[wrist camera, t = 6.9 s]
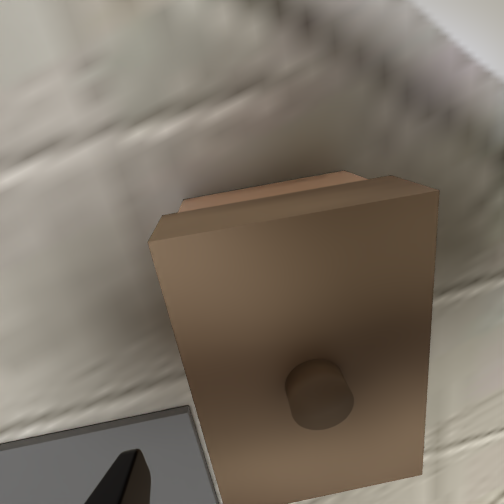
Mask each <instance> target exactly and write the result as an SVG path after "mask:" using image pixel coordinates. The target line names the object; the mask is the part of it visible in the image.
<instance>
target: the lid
mask: <svg viewBox="0 0 504 504" xmlns="http://www.w3.org/2000/svg"><path fill="white" fill-rule="evenodd" d="M438 206H439V190H437V189H434V188H431V187H427V186H424V185H421V184H418V183H414V182H411V181H408V180H405V179H401V178H398V177H395V176H392V175H390V176H384V177H378V178H373V179H367V180H361V181H356V182H350V183H344V184H338V185H333V186H327V187H321V188H316V189H310V190H304V191H298V192H293V193H287V194H281V195H276V196H270V197H264V198H259V199H253V200H247V201H241V202H236V203H230V204H224V205H219V206H213V207H207V208H201V209H196V210H190V211H184V212H179V213H173V214H167V215H162V217H161V219H160V221H159V222H158V224H157V226H156V228H155V230H154V232H153V233H152V235H151V237H150V239H149V241H148V245H149V249H150V252H151V255H152V259H153V262H154V266H155V269H156V273H157V276H158V280H159V283H160V287H161V290H162V294H163V297H164V300H165V304H166V307H167V311H168V314H169V318H170V321H171V325H172V328H173V332H174V335H175V338H176V342H177V345H178V349H179V352H180V356H181V359H182V363H183V366H184V370H185V373H186V377H187V380H188V383H189V387H190V390H191V394H192V397H193V401H194V404H195V408H196V411H197V415H198V418H199V421H200V425H201V428H202V432H203V435H204V439H205V442H206V446H207V449H208V453H209V456H210V460H211V463H212V466H213V470H214V473H215V477H216V480H217V484H218V487H219V491H220V494H221V498H222V501H223V504H288V503H293V502H297V501H302V500H307V499H311V498H316V497H321V496H325V495H330V494H334V493H339V492H344V491H348V490H353V489H358V488H362V487H367V486H372V485H376V484H381V483H386V482H390V481H395V480H400V479H404V478H409V477H414V476H418V475H422V468H423V451H424V435H425V418H426V402H427V386H428V369H429V353H430V337H431V320H432V304H433V288H434V271H435V255H436V238H437V222H438Z"/></svg>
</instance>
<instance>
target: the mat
mask: <svg viewBox="0 0 504 504" xmlns="http://www.w3.org/2000/svg"><path fill="white" fill-rule="evenodd" d="M136 448H139V449H140V450H141V451H142V453H143V455H144V458H145V460H146V463H147V465H148V468H149V470H150V474H151V493H150V504H219V503H218V499H217V496H216V493H215V490H214V487H213V483H212V480H211V477H210V474H209V470H208V467H207V464H206V461H205V457H204V454H203V451H202V448H201V444H200V441H199V438H198V435H197V432H196V428H195V425H194V422H193V419H192V415H191V412H190V409H189V406H185V407H180V408H175V409H170V410H165V411H160V412H156V413H151V414H146V415H141V416H136V417H131V418H126V419H122V420H117V421H112V422H107V423H102V424H97V425H92V426H87V427H83V428H78V429H73V430H68V431H63V432H58V433H53V434H49V435H44V436H39V437H34V438H29V439H24V440H19V441H15V442H10V443H5V444H0V504H84V503H85V501H86V500H87V499H88V497H89V496H90V494H91V493H92V492H93V490H94V489H95V487H96V486H97V485H98V483H99V482H100V480H101V479H102V478H103V476H104V475H105V473H106V472H107V471H108V469H109V468H110V467H111V465H112V464H113V462H114V461H115V460H116V458H117V457H118V455H119V454H120V453H121V452H123V451H126V450H131V449H136Z"/></svg>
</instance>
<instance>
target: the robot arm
mask: <svg viewBox="0 0 504 504" xmlns="http://www.w3.org/2000/svg"><path fill="white" fill-rule="evenodd" d="M150 493H151V474H150V470H149V468H148V465H147V463H146V460H145V458H144V455H143V453H142V451H141V450H140V449H139V448H136V449H131V450H126V451H123V452H121V453H120V454H119V455H118V457H117V458H116V460H115V461H114V462H113V464H112V465H111V467H110V468H109V469H108V471H107V472H106V473H105V475H104V476H103V478H102V479H101V480H100V482H99V483H98V485H97V486H96V487H95V489H94V490H93V492H92V493H91V494H90V496H89V497H88V499H87V500H86V501H85V503H84V504H150Z"/></svg>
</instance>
